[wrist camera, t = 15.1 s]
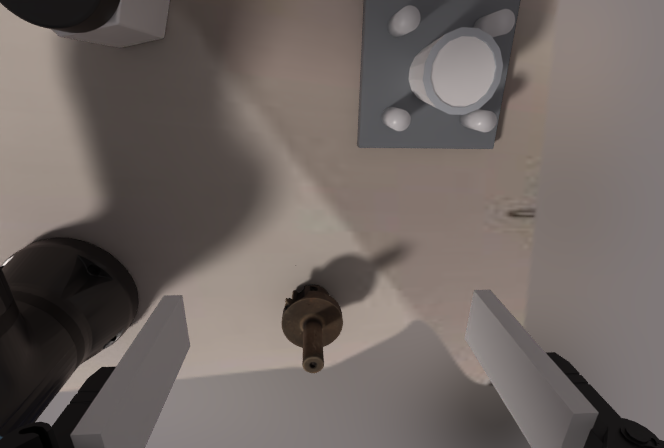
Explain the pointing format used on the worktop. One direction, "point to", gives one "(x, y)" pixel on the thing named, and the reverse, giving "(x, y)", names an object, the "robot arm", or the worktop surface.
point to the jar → (97, 19)
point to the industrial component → (312, 324)
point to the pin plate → (394, 64)
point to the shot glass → (457, 71)
